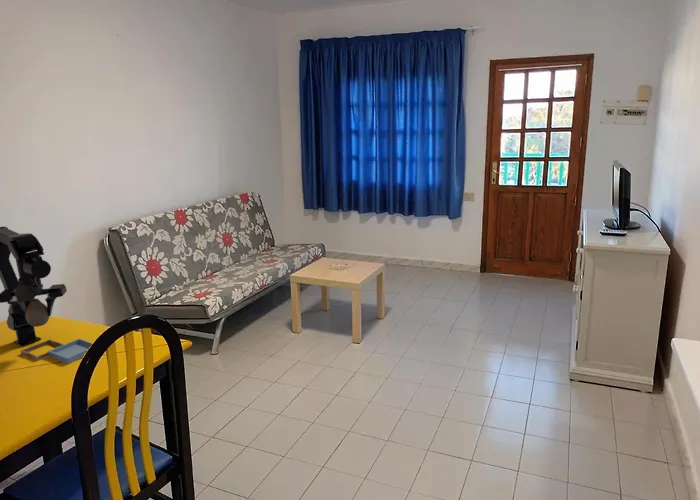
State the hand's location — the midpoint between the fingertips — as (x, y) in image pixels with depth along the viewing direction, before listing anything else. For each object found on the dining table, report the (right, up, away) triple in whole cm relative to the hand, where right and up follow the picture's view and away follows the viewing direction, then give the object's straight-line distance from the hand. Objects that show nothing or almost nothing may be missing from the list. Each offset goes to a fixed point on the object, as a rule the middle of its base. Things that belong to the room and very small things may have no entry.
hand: (37, 317), depth 173 cm
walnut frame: (0, -12, +3) cm, 12 cm away
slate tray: (+12, -12, +1) cm, 17 cm away
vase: (0, -3, +1) cm, 3 cm away
